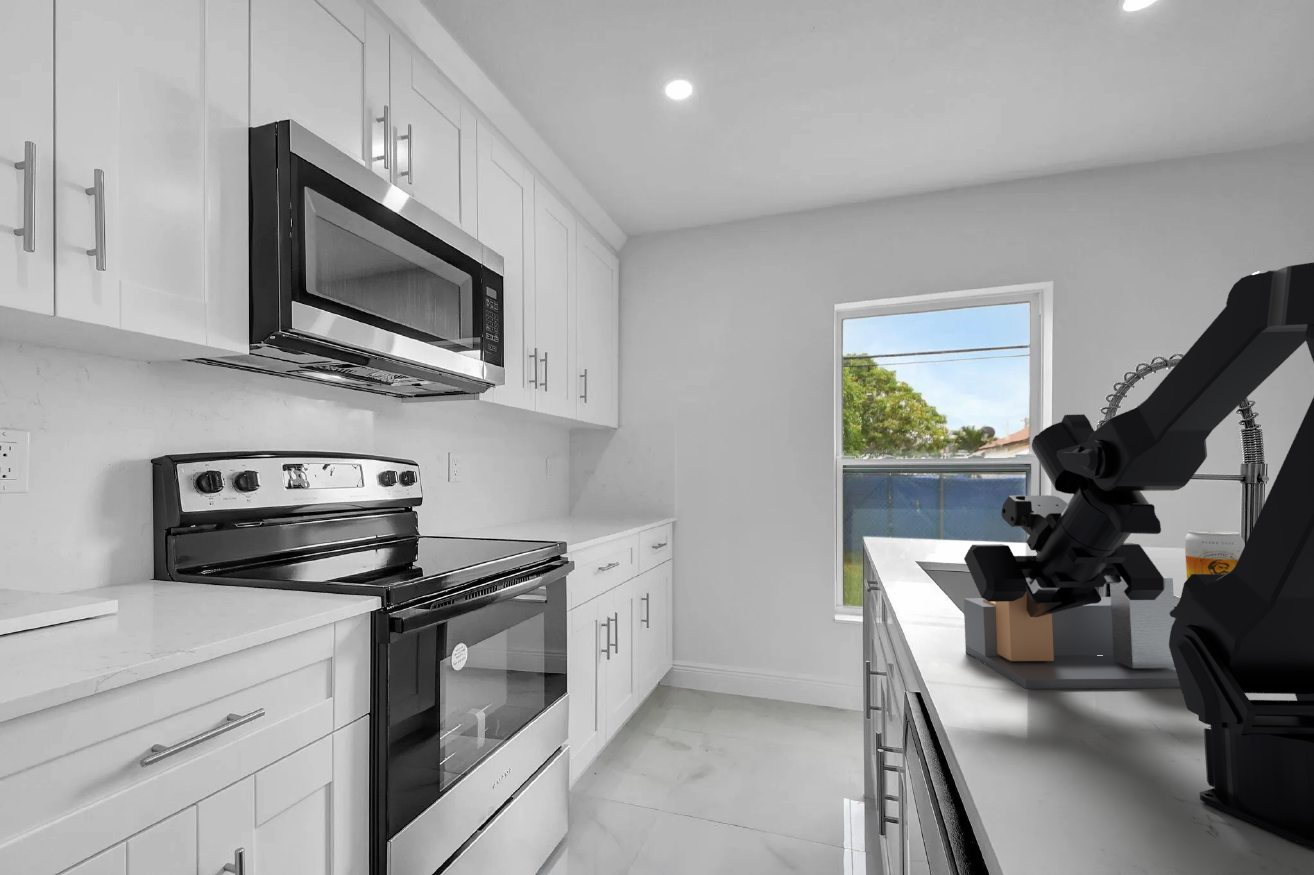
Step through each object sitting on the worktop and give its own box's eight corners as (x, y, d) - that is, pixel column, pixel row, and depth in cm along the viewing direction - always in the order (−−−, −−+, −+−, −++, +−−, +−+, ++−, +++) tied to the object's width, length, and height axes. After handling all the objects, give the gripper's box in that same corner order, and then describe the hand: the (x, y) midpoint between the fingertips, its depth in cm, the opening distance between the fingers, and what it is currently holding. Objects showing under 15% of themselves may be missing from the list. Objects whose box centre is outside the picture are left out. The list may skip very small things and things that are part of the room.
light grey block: (1177, 667, 70) (1172, 578, 71) (1132, 668, 70) (1128, 578, 71) (1156, 659, 73) (1152, 573, 74) (1113, 660, 73) (1109, 574, 74)
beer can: (1197, 646, 83) (1191, 533, 84) (1184, 635, 88) (1178, 529, 89) (1258, 652, 80) (1251, 534, 81) (1241, 640, 85) (1234, 530, 86)
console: (1211, 687, 68) (1207, 618, 68) (1026, 688, 68) (1023, 620, 68) (1120, 651, 81) (1117, 594, 82) (965, 652, 81) (963, 595, 82)
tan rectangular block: (1053, 660, 73) (1050, 574, 74) (1011, 661, 73) (1007, 575, 74) (1038, 653, 76) (1034, 570, 77) (997, 653, 76) (994, 571, 77)
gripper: (1138, 470, 69) (1077, 557, 79) (969, 472, 69) (929, 558, 80) (1204, 551, 61) (1126, 636, 71) (1011, 553, 61) (961, 638, 71)
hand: (1031, 613), depth 73 cm, fingers closed, pressing on tan rectangular block
